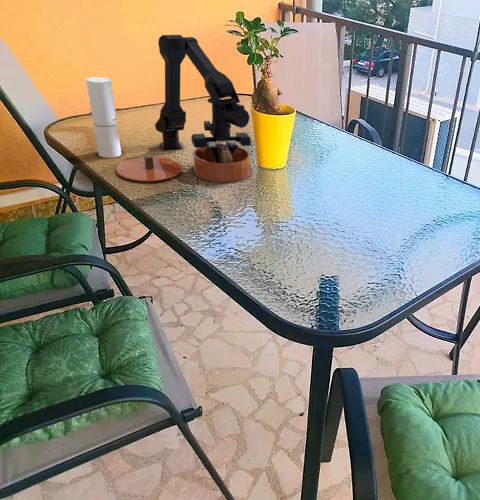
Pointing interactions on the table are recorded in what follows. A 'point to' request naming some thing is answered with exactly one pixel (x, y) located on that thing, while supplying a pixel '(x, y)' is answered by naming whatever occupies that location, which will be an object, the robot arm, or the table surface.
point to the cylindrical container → (104, 116)
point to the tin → (223, 154)
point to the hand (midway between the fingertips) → (222, 163)
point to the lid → (149, 168)
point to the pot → (221, 165)
